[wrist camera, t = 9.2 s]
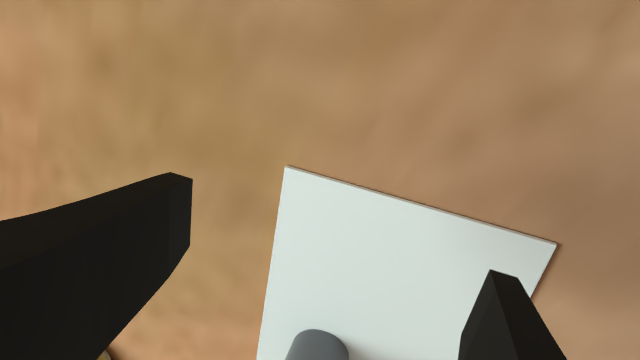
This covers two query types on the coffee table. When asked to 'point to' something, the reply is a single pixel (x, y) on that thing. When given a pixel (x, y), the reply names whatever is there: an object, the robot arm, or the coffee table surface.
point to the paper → (382, 270)
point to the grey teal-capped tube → (317, 346)
